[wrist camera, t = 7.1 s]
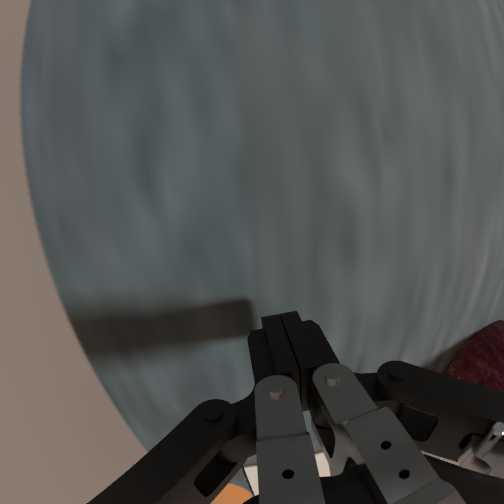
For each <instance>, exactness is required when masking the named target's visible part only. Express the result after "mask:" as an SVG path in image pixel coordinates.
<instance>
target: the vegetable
mask: <svg viewBox="0 0 504 504" xmlns="http://www.w3.org/2000/svg"><path fill="white" fill-rule="evenodd" d="M443 374H444V375H447V376H451V377H454V378H457V379H461V380H465V381H468V382H472V383H475V384H479V385H483V386H486V387H490V388H494V389H498V390H502V391H504V321H503V320H500V321H497V322H494V323H493V324H491V325H489V326H487V327H486V328H484V329H482V330H481V331H478V332H477V333H476V334H475V335H474V336H473V337H472V338H471V339H469V340H468V341H467V342H466V344H465V345H464V346H463V347H462V348H461V350H460V351H459V352H458V353H457V355H456V356H455V357H454V359H453V361H452V362H451V363H450V365H449V366H448V367H447V369H446V370H445V371H444V373H443Z"/></svg>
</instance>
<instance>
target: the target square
mask: <svg viewBox="0 0 504 504" xmlns="http://www.w3.org/2000/svg"><path fill="white" fill-rule="evenodd" d="M315 458H316V462H317V467H318V472H319V476H320V477H325V476H331V475H330V470H329V464H328V462H327V459H326V457H325V455H324V453H323V451H321V452H317V453H315ZM244 469H245V472H246V474H247V477H248V480H249V482H250V485H251V487H252V490H253V492H254V495H255V496H256V495H258V494H259V489H258V472H257V464H256V465H248V466H244Z"/></svg>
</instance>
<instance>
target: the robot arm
mask: <svg viewBox="0 0 504 504" xmlns="http://www.w3.org/2000/svg"><path fill="white" fill-rule="evenodd" d="M261 319H262V328H263V329H259V330H252V331H251V332H250V334H249V336H248V339H247V340H248V346H249V352H250V357H251V363H252V369H253V375H254V381H255V385H254V389H253V391H252V392H251V393H250V395H248V396H247V397H246V398H244V399H243V400H241V401H238V402H236V403H233V404H230V403H229V402H227V401H224V400H220V399H212V400H208V401H205V402H203V403H201V404H199V405H198V406H197V407H196V408H195V409H194V410H193V411H192V412H191V413H190V414H189V415H188V416H187V417H186V418H185V419H184V420H183V421H181V422H180V423H179V424H178V425H177V426H176V427H175V428H174V429H173V430H172V431H171V432H170V433H169V434H168V435H167V436H166V437H165V438H164V439H162V440H161V441H160V442H159V443H158V444H157V445H156V446H155V447H154V448H153V449H152V450H150V451H149V452H148V453H147V454H146V455H145V456H144V457H143V458H142V459H140V460H139V461H138V462H137V463H136V464H135V465H134V466H132V467H131V468H130V469H129V470H128V471H126V472H125V473H124V474H123V475H122V476H121V477H119V478H118V479H117V480H116V481H115V482H113V483H112V484H111V485H110V486H109V487H107V488H106V489H105V490H104V491H102V492H101V493H100V494H99V495H97V496H96V497H95V498H93V499H92V500H91V501H90V502H88V503H87V504H210V503H211V502H212V501H213V500H214V499H215V498H216V497H217V495H218V494H219V493H220V492H221V491H222V490H223V489H224V487H225V486H226V485H227V484H228V483H229V481H230V480H231V479H232V478H233V477H234V475H235V474H236V473H237V472H238V471H239V469H240V468H241V467H242V466H243V464H244V463H245V462H246V460H247V458H248V457H250V456H253V455H255V454H256V456H257V472H258V489H259V494H258V495H256V496H254V497H252V498H250V499H249V500H247V501H246V502H244V503H243V504H504V391H502V390H498V389H494V388H490V387H486V386H483V385H479V384H475V383H472V382H468V381H465V380H461V379H457V378H454V377H451V376H447V375H444V374H441V373H437V372H434V371H431V370H427V369H424V368H421V367H418V366H415V365H412V364H409V363H406V362H402V361H389V362H386V363H384V364H382V365H381V366H380V367H379V369H378V371H377V373H364V374H359V373H354V372H352V371H351V369H350V368H348V367H347V366H345V365H342V364H340V362H339V361H338V359H337V357H336V355H335V353H334V352H333V350H332V348H331V346H330V344H329V342H328V341H327V339H326V337H325V335H324V334H323V332H322V330H321V328H320V326H319V325H318V324H316V323H315V322H313V321H312V320H307V321H301V318H300V316H299V314H298V312H297V311H293V312H287V313H282V314H277V315H271V316H265V317H261ZM405 405H408V406H410V407H413V408H416V409H419V410H422V411H425V412H428V413H431V414H434V415H429V414H426V413H424V412H421V411H418V410H415V409H412V408H409V407H406V406H405ZM307 410H309V411H310V414H311V426H312V428H313V431H314V433H315V435H316V437H317V439H318V442H319V444H320V446H321V448H322V450H323V453H324V455H325V457H326V459H327V462H328V464H329V470H330V475H331V476H325V477H320V476H319V472H318V467H317V462H316V458H315V453H314V449H313V444H312V440H311V436H310V433H309V432H307V429H306V425H305V420H304V416H303V411H307ZM420 450H422V451H424V452H427V453H430V454H433V455H436V456H440V457H443V458H446V459H449V460H453V461H456V462H458V464H459V466H457V465H454V464H451V463H448V462H445V461H442V460H440V459H437V458H434V457H431V456H428V455H424V454H423V453H422V452H421V451H420Z"/></svg>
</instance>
